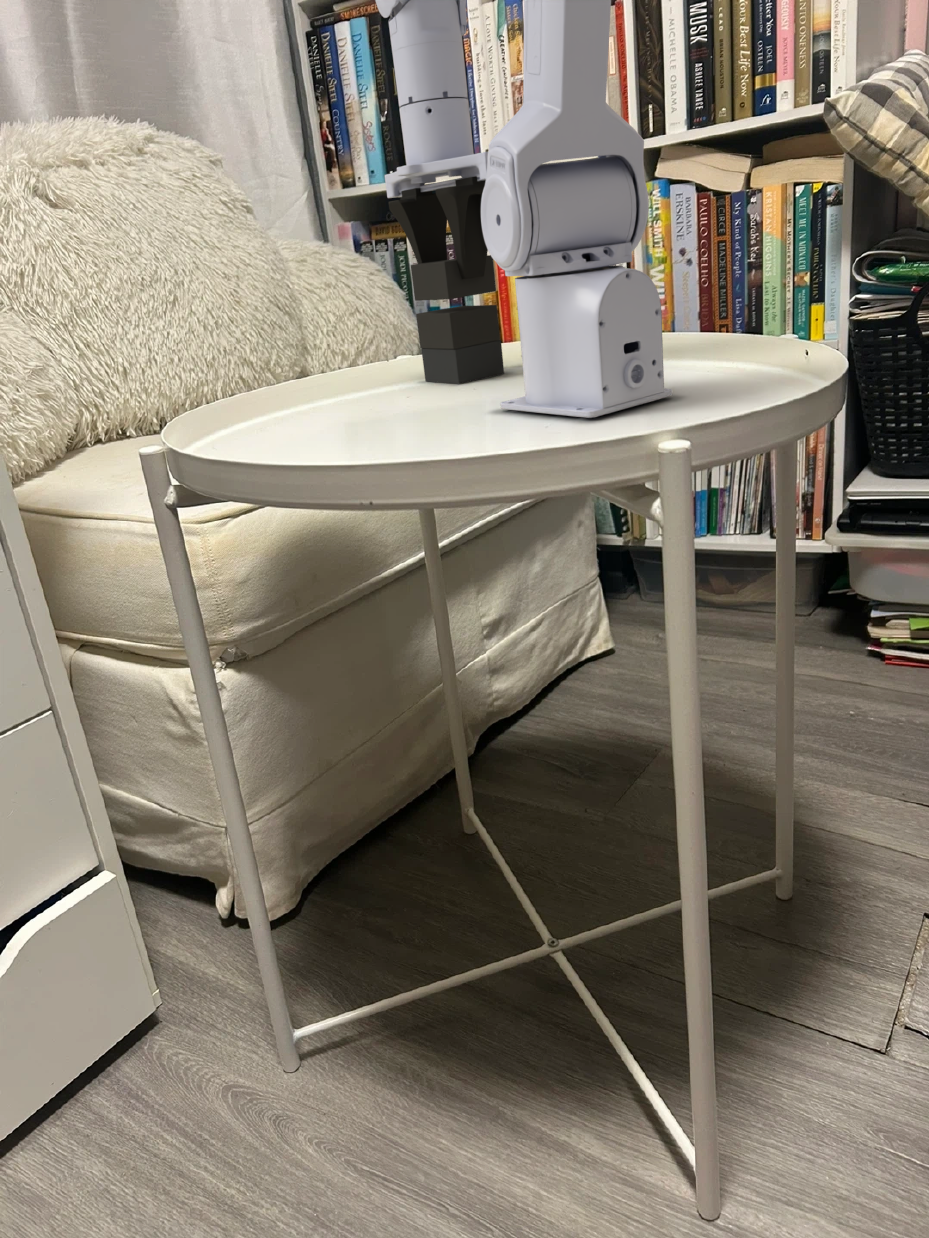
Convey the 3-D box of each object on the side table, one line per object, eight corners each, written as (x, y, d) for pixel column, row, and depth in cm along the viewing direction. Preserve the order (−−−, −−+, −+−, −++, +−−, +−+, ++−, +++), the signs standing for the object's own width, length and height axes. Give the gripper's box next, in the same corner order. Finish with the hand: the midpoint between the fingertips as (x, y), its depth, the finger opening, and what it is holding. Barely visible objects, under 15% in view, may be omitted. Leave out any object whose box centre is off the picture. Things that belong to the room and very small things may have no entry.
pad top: (496, 291, 82) (493, 255, 81) (448, 299, 79) (444, 261, 78) (461, 293, 86) (457, 258, 85) (414, 300, 83) (410, 265, 82)
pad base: (504, 374, 85) (501, 339, 84) (459, 384, 82) (455, 349, 81) (469, 372, 89) (466, 339, 88) (425, 382, 86) (420, 348, 85)
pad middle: (500, 340, 84) (497, 304, 82) (453, 349, 81) (449, 313, 80) (465, 339, 88) (462, 305, 86) (420, 348, 85) (415, 313, 84)
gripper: (347, 121, 81) (371, 287, 86) (447, 88, 70) (467, 281, 75) (414, 118, 84) (433, 278, 89) (519, 87, 73) (534, 271, 78)
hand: (453, 279), depth 82 cm, fingers closed on pad top, 5 cm apart
